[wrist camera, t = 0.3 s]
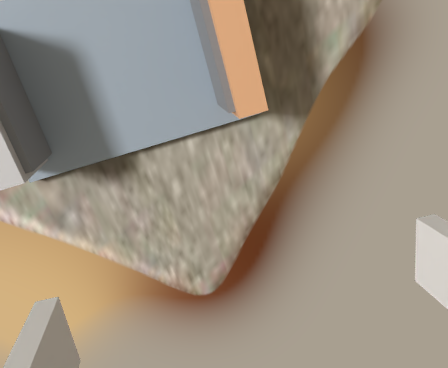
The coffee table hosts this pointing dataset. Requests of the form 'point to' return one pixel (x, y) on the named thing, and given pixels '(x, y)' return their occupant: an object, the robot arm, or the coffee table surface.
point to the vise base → (97, 82)
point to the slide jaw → (230, 55)
